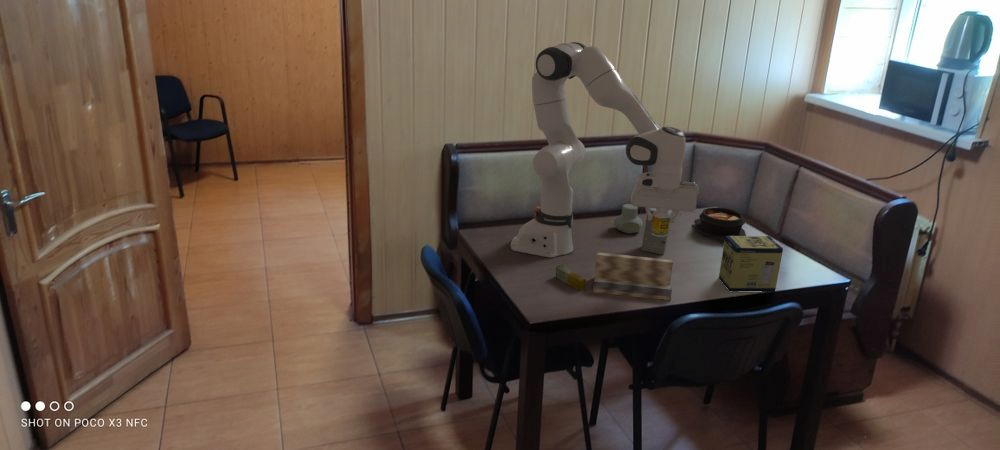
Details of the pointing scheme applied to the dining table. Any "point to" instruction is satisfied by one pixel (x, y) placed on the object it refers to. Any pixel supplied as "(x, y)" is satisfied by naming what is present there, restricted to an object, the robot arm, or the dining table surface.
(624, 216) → the air freshener
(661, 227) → the supplement bottle
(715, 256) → the dining table surface
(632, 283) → the cleat board
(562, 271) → the medication box
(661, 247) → the skincare box
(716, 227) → the casserole
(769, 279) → the protein box
